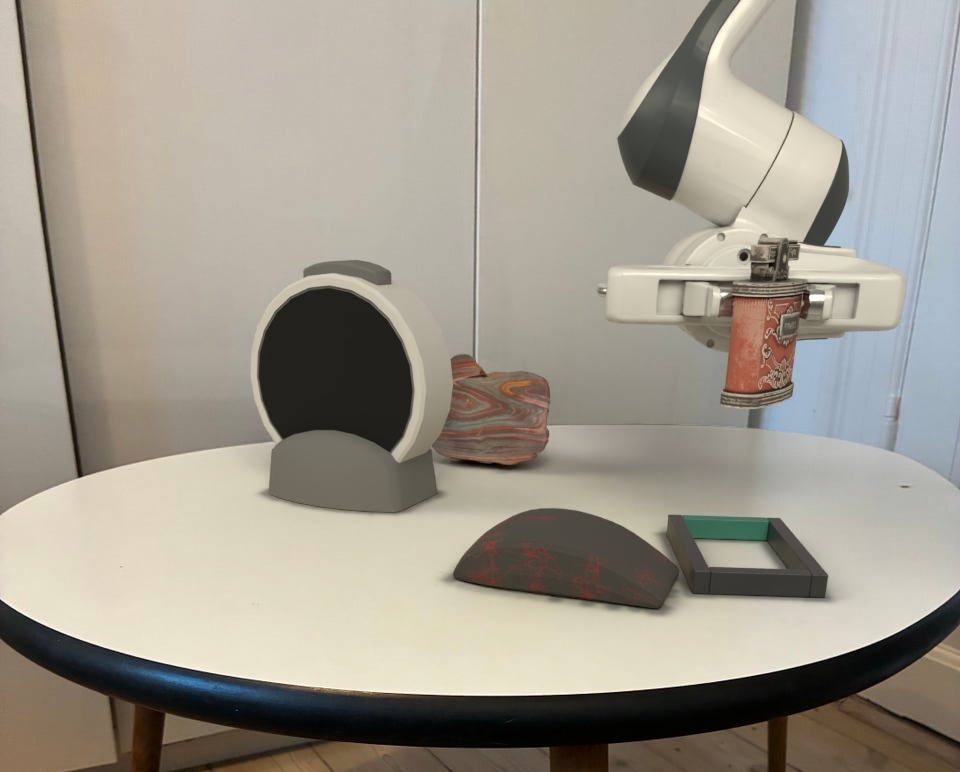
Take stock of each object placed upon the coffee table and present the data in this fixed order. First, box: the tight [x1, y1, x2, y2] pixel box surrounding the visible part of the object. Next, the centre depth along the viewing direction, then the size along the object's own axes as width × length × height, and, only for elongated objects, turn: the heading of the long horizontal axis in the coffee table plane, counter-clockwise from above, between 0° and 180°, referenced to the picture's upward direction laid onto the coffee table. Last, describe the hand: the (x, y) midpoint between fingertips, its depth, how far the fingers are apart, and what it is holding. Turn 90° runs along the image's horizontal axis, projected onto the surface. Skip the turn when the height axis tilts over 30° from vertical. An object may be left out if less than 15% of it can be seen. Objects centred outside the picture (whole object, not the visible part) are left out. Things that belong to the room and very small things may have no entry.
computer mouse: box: [452, 507, 681, 610], centre depth 65 cm, size 8×14×4 cm, turn 71°
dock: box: [666, 514, 829, 598], centre depth 69 cm, size 8×13×2 cm, turn 177°
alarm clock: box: [249, 259, 453, 513], centre depth 82 cm, size 16×10×18 cm, turn 65°
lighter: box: [719, 237, 808, 410], centre depth 66 cm, size 8×3×10 cm, turn 145°
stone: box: [431, 353, 551, 466], centre depth 96 cm, size 13×8×10 cm
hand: (772, 304), depth 65 cm, fingers closed on lighter, 5 cm apart
